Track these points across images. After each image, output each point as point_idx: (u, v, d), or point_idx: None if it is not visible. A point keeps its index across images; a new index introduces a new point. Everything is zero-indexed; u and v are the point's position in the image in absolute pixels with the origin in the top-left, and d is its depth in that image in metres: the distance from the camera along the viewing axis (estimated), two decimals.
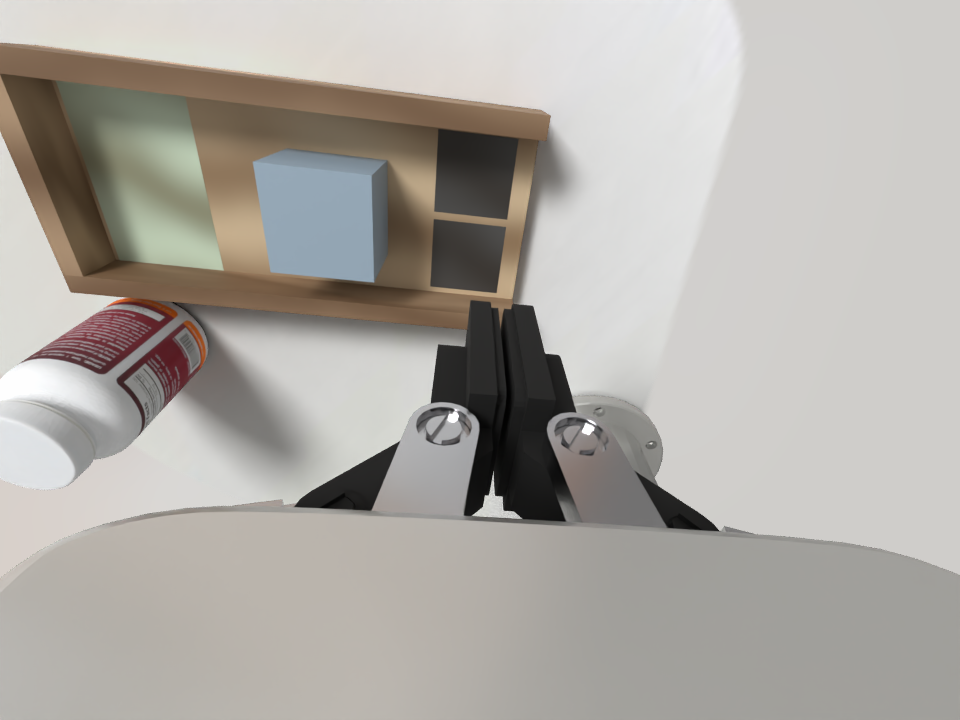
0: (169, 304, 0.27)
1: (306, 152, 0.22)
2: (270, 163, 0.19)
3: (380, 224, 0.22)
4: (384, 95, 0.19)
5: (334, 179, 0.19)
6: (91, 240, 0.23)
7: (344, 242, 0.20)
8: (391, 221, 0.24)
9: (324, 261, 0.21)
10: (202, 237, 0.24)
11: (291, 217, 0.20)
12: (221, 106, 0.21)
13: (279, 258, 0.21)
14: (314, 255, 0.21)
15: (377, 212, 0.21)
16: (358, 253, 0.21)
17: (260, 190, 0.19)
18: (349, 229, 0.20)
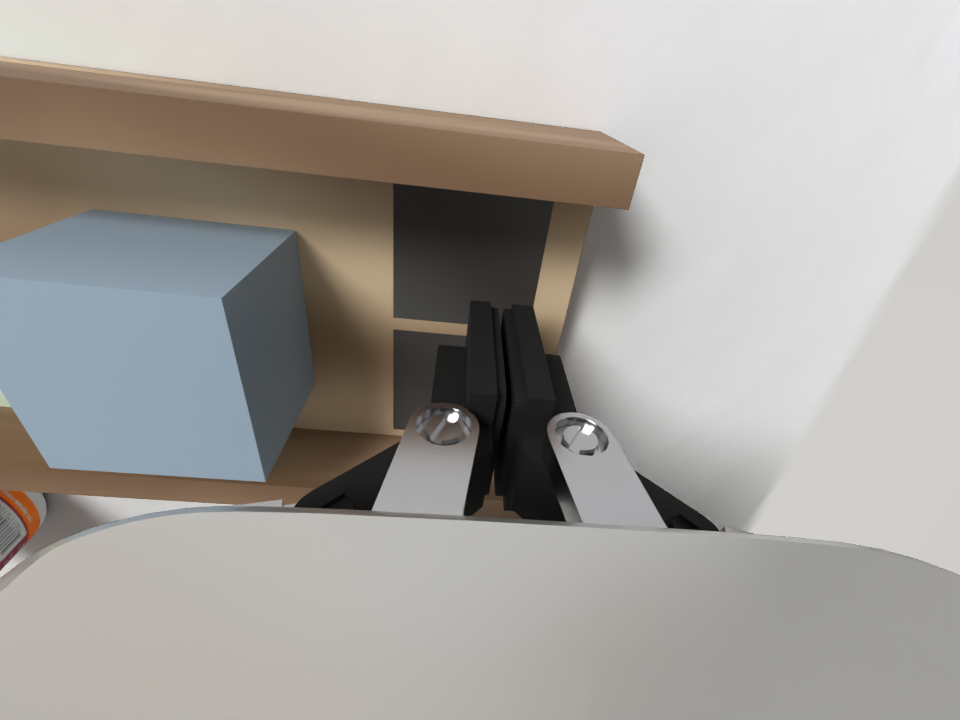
0: None
1: (126, 219, 0.11)
2: None
3: (280, 361, 0.11)
4: (245, 108, 0.08)
5: (136, 307, 0.08)
6: None
7: (189, 419, 0.10)
8: (315, 333, 0.13)
9: (155, 451, 0.10)
10: None
11: (59, 378, 0.09)
12: None
13: (59, 447, 0.10)
14: (131, 442, 0.10)
15: (264, 350, 0.10)
16: (223, 437, 0.10)
17: None
18: (196, 399, 0.09)
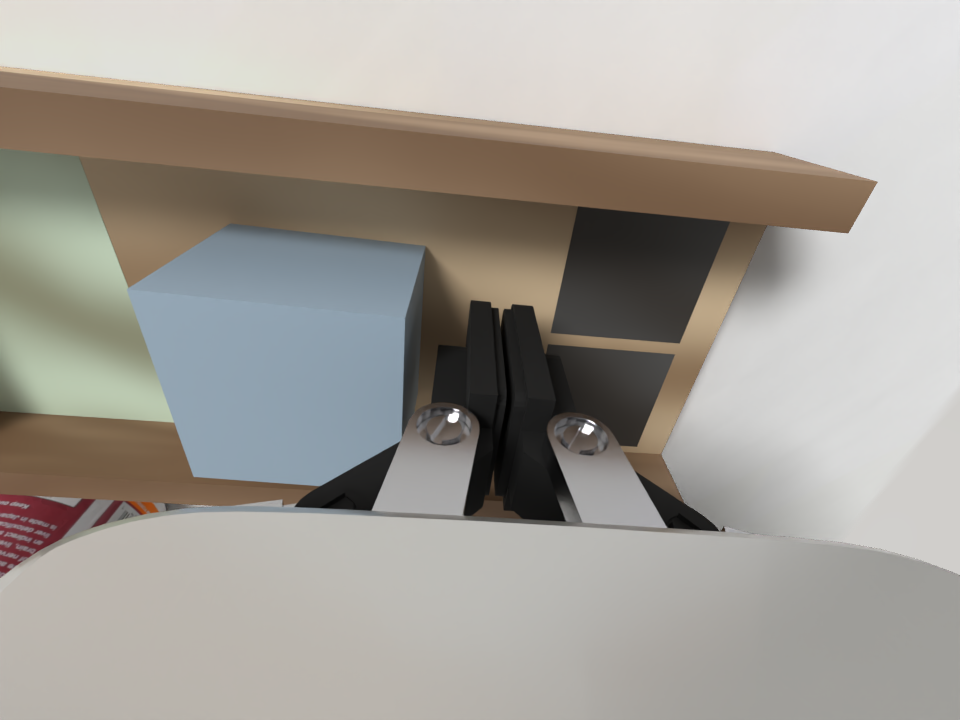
0: None
1: (267, 234, 0.11)
2: (169, 291, 0.08)
3: (412, 373, 0.11)
4: (505, 143, 0.08)
5: (320, 325, 0.08)
6: None
7: (341, 431, 0.10)
8: None
9: (301, 461, 0.10)
10: (137, 376, 0.14)
11: (228, 392, 0.09)
12: None
13: (209, 457, 0.10)
14: (281, 452, 0.10)
15: (409, 364, 0.10)
16: (370, 449, 0.10)
17: (152, 344, 0.09)
18: (354, 413, 0.10)
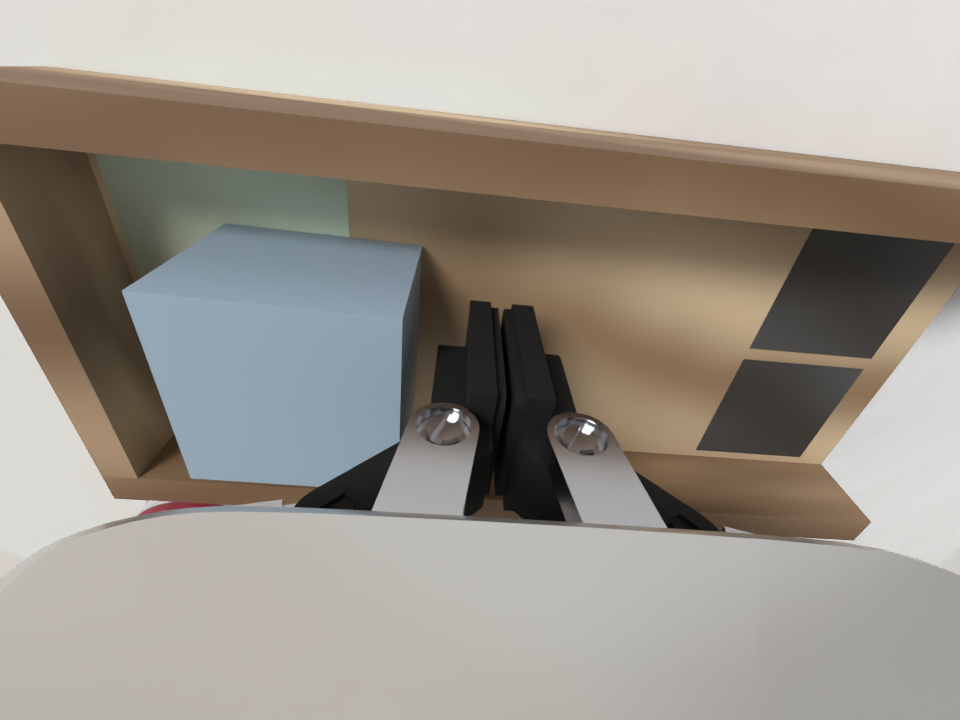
0: None
1: (263, 234, 0.11)
2: (165, 292, 0.08)
3: (410, 373, 0.11)
4: (829, 177, 0.08)
5: (317, 326, 0.08)
6: (150, 409, 0.13)
7: (339, 432, 0.10)
8: (669, 363, 0.14)
9: (298, 462, 0.10)
10: None
11: (224, 393, 0.09)
12: None
13: (206, 458, 0.10)
14: (278, 453, 0.10)
15: (407, 364, 0.10)
16: (368, 449, 0.10)
17: (148, 345, 0.08)
18: (351, 413, 0.10)
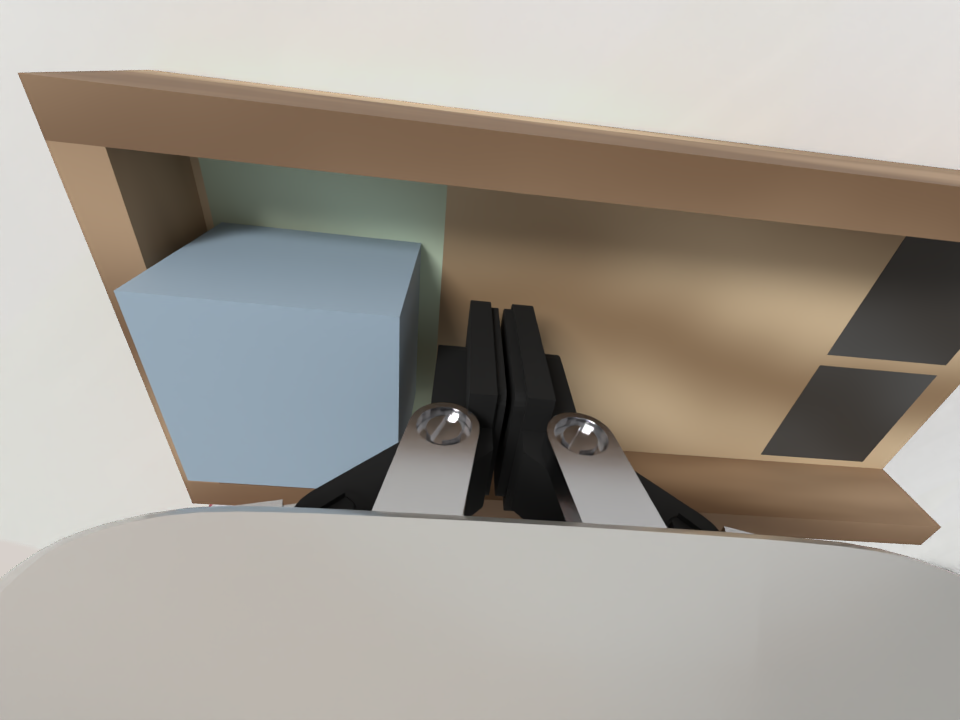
0: None
1: (259, 233, 0.11)
2: (158, 292, 0.08)
3: (409, 373, 0.11)
4: (958, 188, 0.08)
5: (313, 326, 0.08)
6: None
7: (337, 433, 0.10)
8: (745, 369, 0.14)
9: (296, 463, 0.10)
10: None
11: (220, 394, 0.09)
12: None
13: (202, 460, 0.10)
14: (275, 455, 0.10)
15: (406, 364, 0.10)
16: (366, 451, 0.10)
17: (142, 346, 0.08)
18: (349, 414, 0.09)
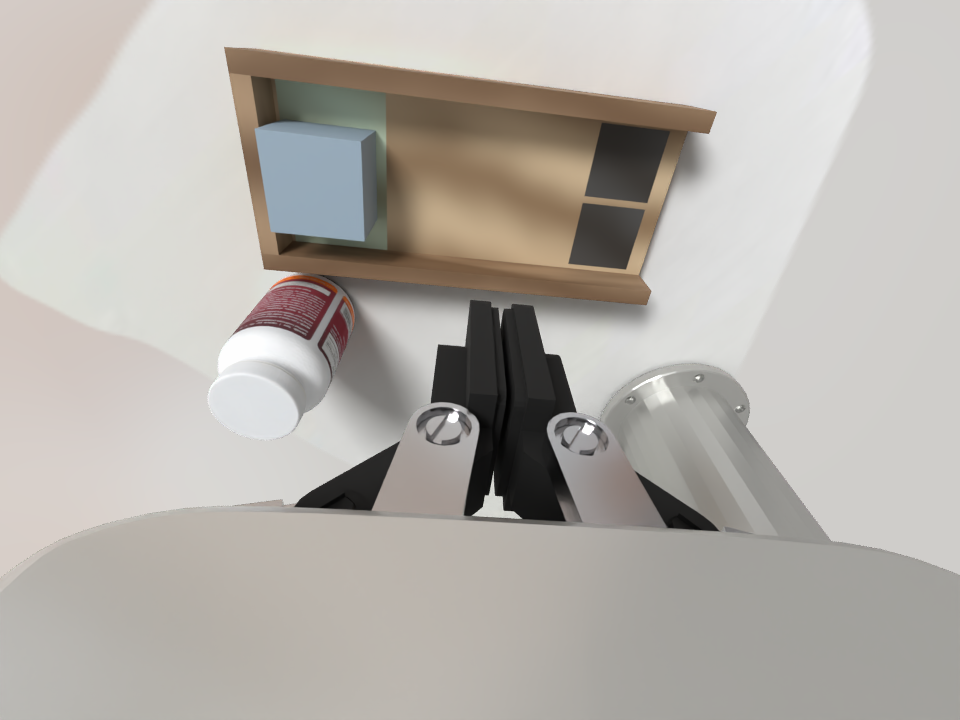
0: (329, 281, 0.30)
1: (301, 122, 0.24)
2: (270, 130, 0.21)
3: (369, 189, 0.24)
4: (578, 94, 0.22)
5: (327, 145, 0.21)
6: None
7: (337, 203, 0.23)
8: (545, 205, 0.27)
9: (319, 221, 0.23)
10: None
11: (289, 180, 0.22)
12: (415, 103, 0.24)
13: (278, 218, 0.23)
14: (310, 216, 0.23)
15: (366, 177, 0.23)
16: (349, 213, 0.23)
17: (261, 155, 0.21)
18: (342, 192, 0.23)
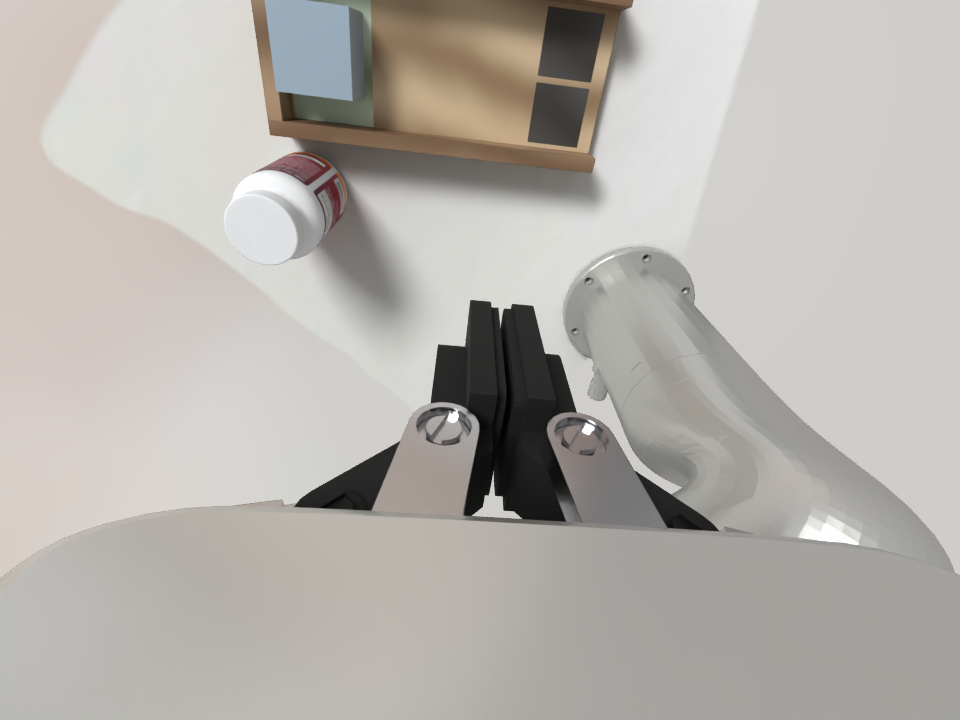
0: (325, 159, 0.35)
1: None
2: None
3: (357, 59, 0.30)
4: None
5: (322, 9, 0.27)
6: (286, 95, 0.32)
7: (330, 64, 0.28)
8: (505, 84, 0.32)
9: (315, 81, 0.29)
10: None
11: (291, 42, 0.27)
12: None
13: (282, 78, 0.29)
14: (308, 76, 0.28)
15: (354, 44, 0.29)
16: (340, 74, 0.28)
17: (269, 18, 0.27)
18: (333, 53, 0.28)
